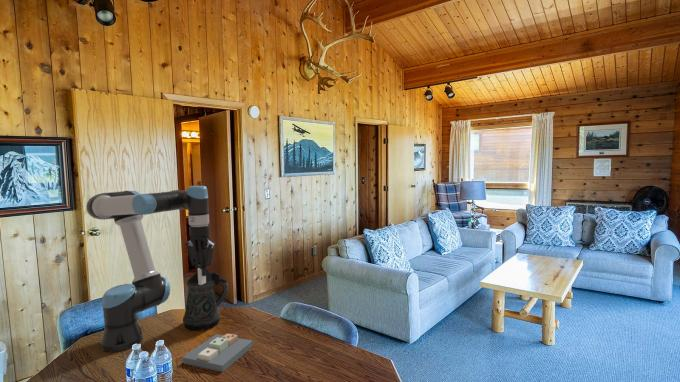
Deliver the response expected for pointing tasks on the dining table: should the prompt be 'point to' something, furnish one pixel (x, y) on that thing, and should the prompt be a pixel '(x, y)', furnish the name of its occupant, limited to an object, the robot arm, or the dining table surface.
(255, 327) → the dining table surface
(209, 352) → the cream square block
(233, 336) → the pink square block
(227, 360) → the button board
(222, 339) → the pale green block
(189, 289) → the beer stein
